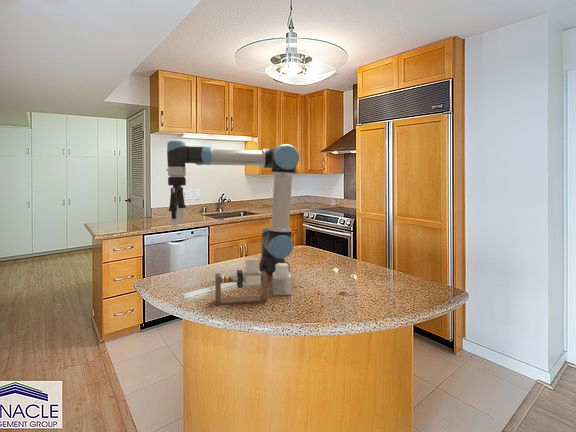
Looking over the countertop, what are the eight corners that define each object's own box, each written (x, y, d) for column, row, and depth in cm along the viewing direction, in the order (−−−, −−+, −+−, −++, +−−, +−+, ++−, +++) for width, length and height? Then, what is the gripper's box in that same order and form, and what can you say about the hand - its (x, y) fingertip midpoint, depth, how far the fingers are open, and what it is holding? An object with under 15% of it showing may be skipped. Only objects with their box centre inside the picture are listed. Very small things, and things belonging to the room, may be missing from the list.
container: (272, 289, 152) (272, 260, 151) (289, 289, 153) (290, 260, 151) (273, 295, 144) (273, 264, 143) (291, 295, 145) (291, 264, 144)
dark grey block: (241, 283, 139) (241, 270, 138) (243, 287, 134) (243, 273, 133) (236, 283, 139) (236, 270, 138) (237, 288, 133) (237, 274, 133)
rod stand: (264, 296, 142) (265, 270, 141) (267, 302, 136) (267, 274, 135) (215, 299, 138) (215, 272, 137) (215, 305, 132) (215, 277, 131)
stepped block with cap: (259, 282, 141) (259, 257, 139) (260, 286, 135) (261, 260, 134) (244, 283, 139) (244, 257, 138) (245, 287, 134) (245, 261, 133)
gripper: (174, 176, 165) (175, 220, 167) (160, 176, 140) (162, 227, 143) (190, 176, 166) (191, 220, 168) (179, 176, 141) (180, 227, 143)
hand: (178, 224), depth 155 cm, fingers open, 13 cm apart
